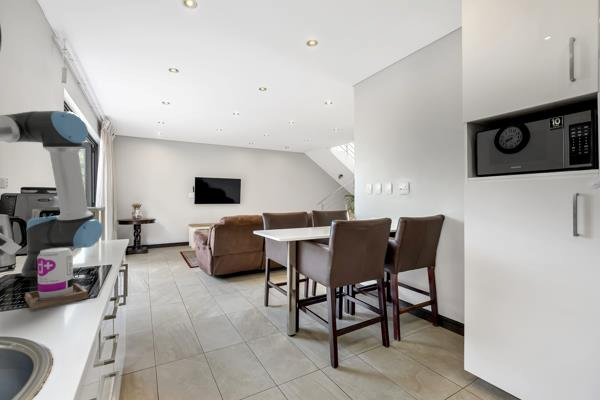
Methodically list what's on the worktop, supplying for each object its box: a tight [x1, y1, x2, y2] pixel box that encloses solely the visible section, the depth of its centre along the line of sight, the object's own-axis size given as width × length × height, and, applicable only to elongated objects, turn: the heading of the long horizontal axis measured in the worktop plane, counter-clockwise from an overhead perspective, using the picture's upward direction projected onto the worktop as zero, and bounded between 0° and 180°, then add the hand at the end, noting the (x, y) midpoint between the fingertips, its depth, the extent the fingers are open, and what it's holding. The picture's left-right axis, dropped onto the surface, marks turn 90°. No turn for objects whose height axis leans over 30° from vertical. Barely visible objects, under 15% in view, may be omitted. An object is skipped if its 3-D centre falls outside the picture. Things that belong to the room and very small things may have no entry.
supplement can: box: [37, 247, 74, 301], centre depth 85 cm, size 8×8×15 cm
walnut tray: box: [24, 282, 89, 312], centre depth 85 cm, size 13×13×2 cm
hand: (12, 247), depth 77 cm, fingers open, 13 cm apart
